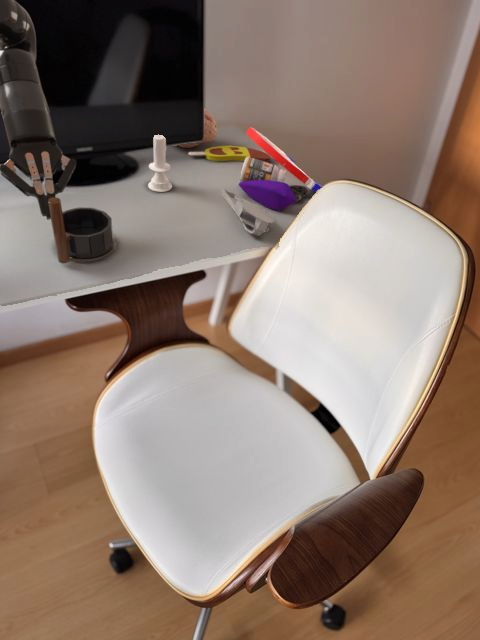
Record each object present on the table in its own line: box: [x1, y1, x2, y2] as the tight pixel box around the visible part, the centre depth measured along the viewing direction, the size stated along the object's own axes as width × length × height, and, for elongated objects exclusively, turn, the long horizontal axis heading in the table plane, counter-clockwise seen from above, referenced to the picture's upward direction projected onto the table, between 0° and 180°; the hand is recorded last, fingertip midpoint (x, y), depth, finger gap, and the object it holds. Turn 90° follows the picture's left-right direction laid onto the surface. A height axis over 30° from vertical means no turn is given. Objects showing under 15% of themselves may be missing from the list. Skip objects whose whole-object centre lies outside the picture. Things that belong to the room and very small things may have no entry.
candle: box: [147, 134, 173, 193], centre depth 119 cm, size 5×5×12 cm
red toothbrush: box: [245, 126, 323, 193], centre depth 131 cm, size 22×25×2 cm
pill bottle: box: [239, 157, 288, 183], centre depth 126 cm, size 6×6×10 cm
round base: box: [69, 236, 117, 264], centre depth 103 cm, size 11×11×1 cm
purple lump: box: [238, 180, 297, 212], centre depth 122 cm, size 5×5×15 cm
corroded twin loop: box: [289, 184, 310, 203], centre depth 127 cm, size 5×8×1 cm, turn 148°
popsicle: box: [187, 145, 271, 163], centre depth 137 cm, size 8×1×20 cm
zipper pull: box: [220, 188, 275, 237], centre depth 116 cm, size 8×18×4 cm, turn 22°
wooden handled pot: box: [48, 196, 114, 264], centre depth 98 cm, size 13×10×12 cm
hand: (51, 218), depth 93 cm, fingers closed
